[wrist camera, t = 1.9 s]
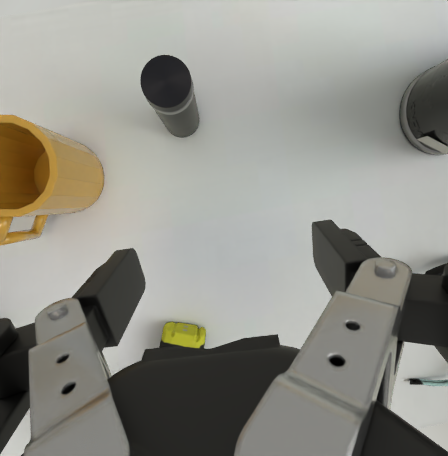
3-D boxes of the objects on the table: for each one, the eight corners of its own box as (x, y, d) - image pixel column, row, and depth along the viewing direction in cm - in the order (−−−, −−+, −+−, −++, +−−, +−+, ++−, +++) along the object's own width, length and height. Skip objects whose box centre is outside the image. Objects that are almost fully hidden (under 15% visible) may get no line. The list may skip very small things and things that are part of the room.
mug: (46, 129, 30) (-28, 97, 21) (114, 158, 30) (71, 139, 21) (13, 222, 30) (-71, 230, 21) (80, 248, 31) (24, 267, 22)
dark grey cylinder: (191, 95, 30) (179, 45, 20) (205, 129, 30) (200, 96, 21) (158, 109, 30) (131, 66, 20) (172, 143, 30) (152, 116, 21)
